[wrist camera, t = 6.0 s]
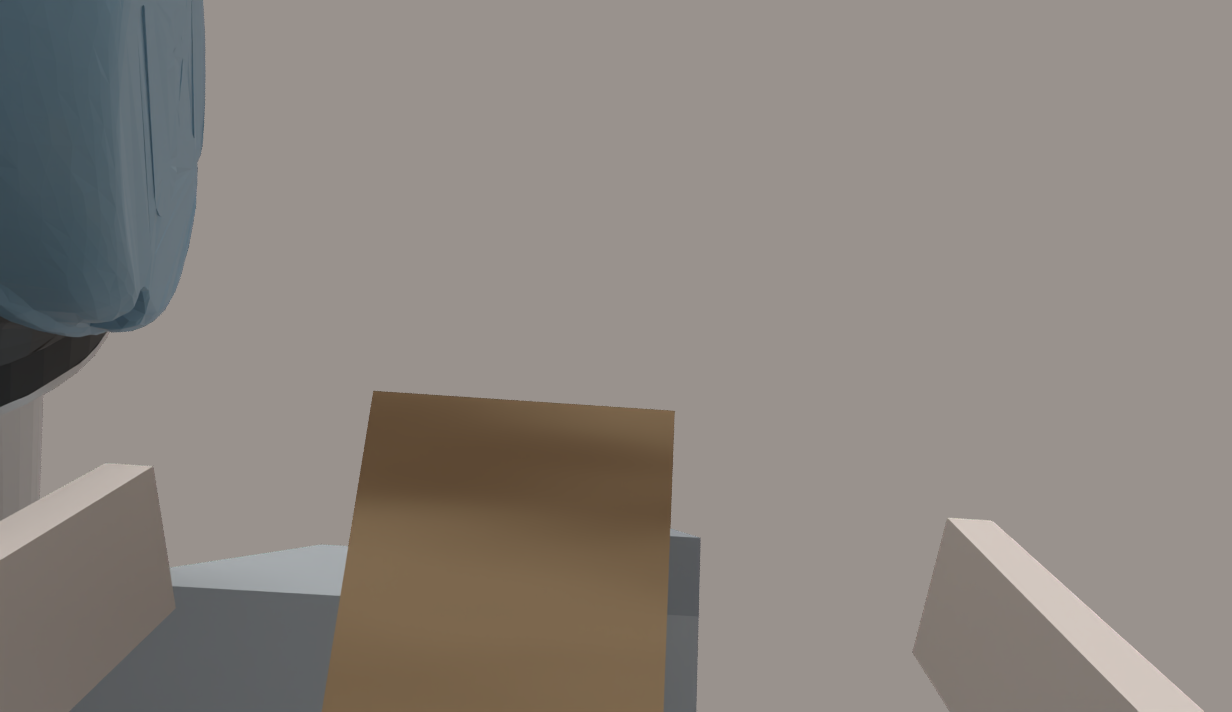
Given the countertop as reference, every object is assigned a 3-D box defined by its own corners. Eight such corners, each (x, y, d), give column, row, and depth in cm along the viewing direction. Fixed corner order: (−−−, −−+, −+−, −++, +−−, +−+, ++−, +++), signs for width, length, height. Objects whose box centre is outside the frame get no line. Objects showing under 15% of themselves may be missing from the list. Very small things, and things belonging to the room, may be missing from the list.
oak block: (662, 748, 7) (675, 410, 8) (318, 730, 7) (372, 390, 8) (608, 561, 29) (613, 478, 30) (526, 556, 29) (534, 473, 30)
